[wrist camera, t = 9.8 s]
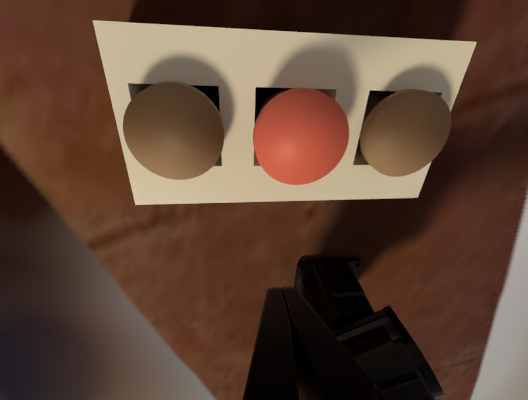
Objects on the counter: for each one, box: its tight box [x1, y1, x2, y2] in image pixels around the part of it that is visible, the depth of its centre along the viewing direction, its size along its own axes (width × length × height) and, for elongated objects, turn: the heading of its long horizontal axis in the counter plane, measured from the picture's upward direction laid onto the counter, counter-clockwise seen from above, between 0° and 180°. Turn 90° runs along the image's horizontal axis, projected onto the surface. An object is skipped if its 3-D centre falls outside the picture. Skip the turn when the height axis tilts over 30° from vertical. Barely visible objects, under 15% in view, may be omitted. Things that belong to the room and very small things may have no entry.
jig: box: [93, 20, 477, 205], centre depth 16 cm, size 9×18×4 cm, turn 88°
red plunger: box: [253, 88, 349, 185], centre depth 15 cm, size 5×5×6 cm
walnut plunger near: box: [123, 81, 224, 180], centre depth 15 cm, size 5×5×6 cm
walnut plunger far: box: [359, 89, 451, 177], centre depth 17 cm, size 5×5×6 cm
